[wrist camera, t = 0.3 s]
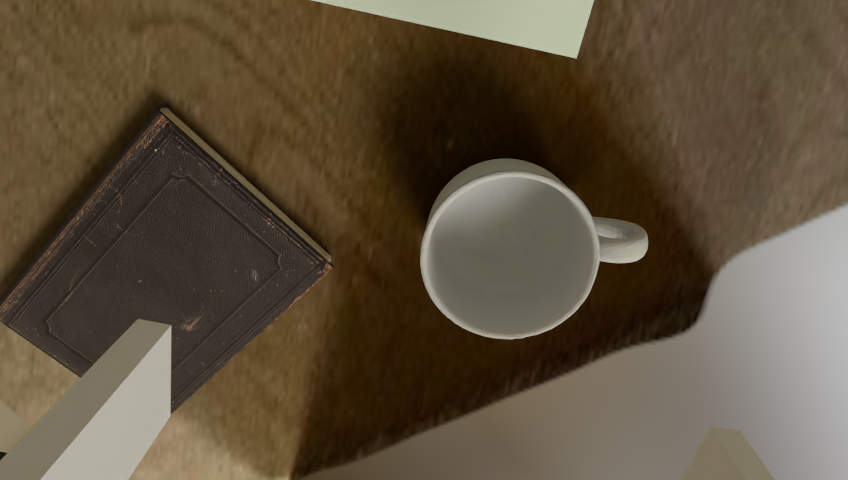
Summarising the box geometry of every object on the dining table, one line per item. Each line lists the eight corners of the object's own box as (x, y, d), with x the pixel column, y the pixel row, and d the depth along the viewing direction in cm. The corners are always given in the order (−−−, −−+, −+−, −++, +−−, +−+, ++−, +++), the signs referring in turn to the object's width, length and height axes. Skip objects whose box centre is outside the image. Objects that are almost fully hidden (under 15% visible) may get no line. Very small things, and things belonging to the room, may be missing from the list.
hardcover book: (338, 255, 41) (332, 268, 39) (166, 411, 48) (154, 429, 45) (169, 101, 36) (153, 107, 34) (7, 297, 43) (-15, 311, 41)
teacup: (417, 273, 41) (411, 330, 33) (432, 133, 36) (430, 164, 29) (596, 292, 41) (629, 353, 33) (632, 155, 36) (680, 192, 29)
